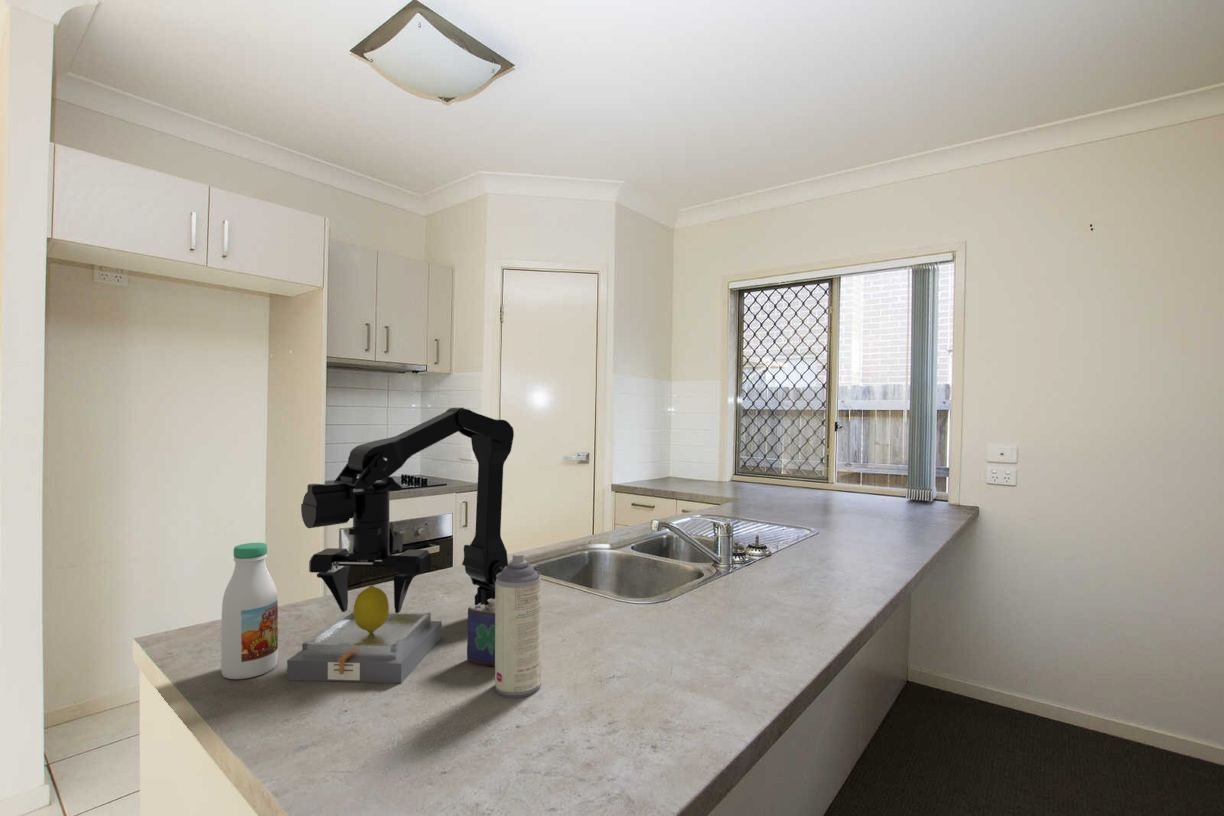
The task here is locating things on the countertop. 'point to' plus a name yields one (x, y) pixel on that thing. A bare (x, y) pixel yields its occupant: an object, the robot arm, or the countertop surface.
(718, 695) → the countertop surface
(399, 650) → the scale pan
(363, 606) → the lemon
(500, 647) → the aerosol can
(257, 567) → the milk bottle
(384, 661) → the base
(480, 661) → the flask
